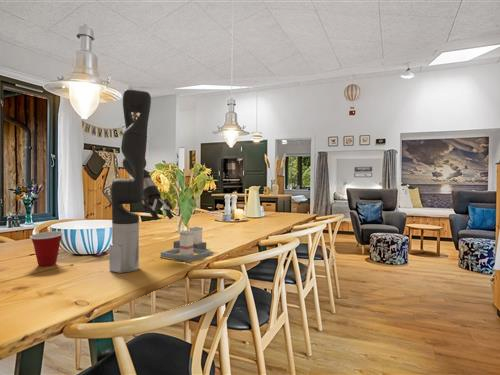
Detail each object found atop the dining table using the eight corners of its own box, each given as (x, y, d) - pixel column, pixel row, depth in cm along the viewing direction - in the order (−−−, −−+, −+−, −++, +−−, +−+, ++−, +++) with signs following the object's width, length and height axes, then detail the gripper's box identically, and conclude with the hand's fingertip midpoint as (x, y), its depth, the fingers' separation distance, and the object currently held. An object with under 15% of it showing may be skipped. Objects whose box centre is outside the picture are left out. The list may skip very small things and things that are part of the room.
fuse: (196, 250, 151) (196, 228, 150) (189, 249, 153) (189, 227, 152) (202, 249, 154) (202, 227, 154) (195, 247, 156) (195, 226, 156)
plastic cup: (22, 266, 123) (22, 234, 123) (48, 260, 133) (48, 230, 133) (44, 269, 119) (44, 236, 119) (69, 262, 130) (69, 232, 129)
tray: (189, 263, 131) (190, 257, 131) (160, 258, 139) (160, 252, 139) (211, 256, 143) (211, 250, 143) (183, 252, 151) (183, 246, 151)
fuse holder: (196, 253, 149) (196, 244, 149) (173, 249, 156) (173, 241, 156) (206, 250, 155) (206, 242, 155) (183, 247, 162) (183, 239, 162)
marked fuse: (186, 257, 138) (187, 233, 138) (179, 255, 141) (179, 232, 140) (193, 255, 142) (193, 232, 142) (185, 254, 144) (186, 231, 144)
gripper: (140, 184, 144) (156, 214, 139) (165, 185, 156) (180, 212, 151) (131, 195, 147) (147, 224, 142) (156, 195, 159) (171, 222, 154)
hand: (164, 218), depth 146 cm, fingers open, 8 cm apart
